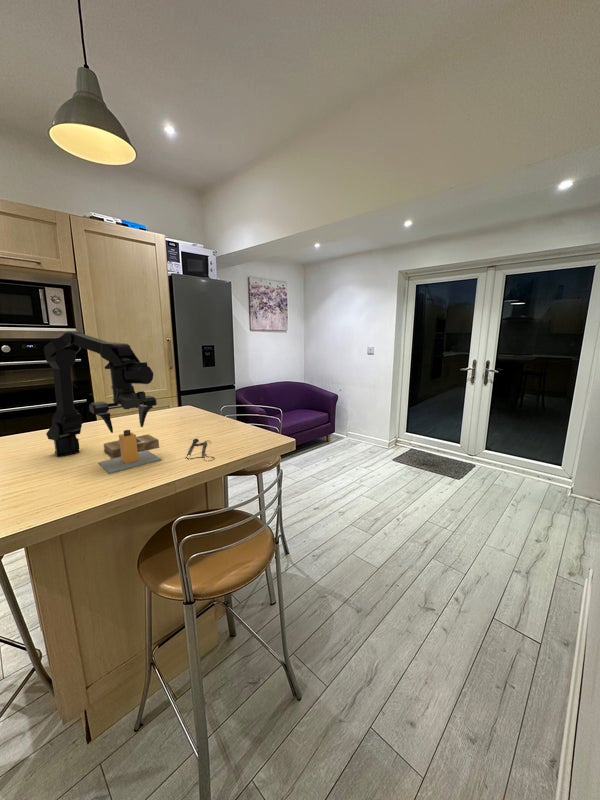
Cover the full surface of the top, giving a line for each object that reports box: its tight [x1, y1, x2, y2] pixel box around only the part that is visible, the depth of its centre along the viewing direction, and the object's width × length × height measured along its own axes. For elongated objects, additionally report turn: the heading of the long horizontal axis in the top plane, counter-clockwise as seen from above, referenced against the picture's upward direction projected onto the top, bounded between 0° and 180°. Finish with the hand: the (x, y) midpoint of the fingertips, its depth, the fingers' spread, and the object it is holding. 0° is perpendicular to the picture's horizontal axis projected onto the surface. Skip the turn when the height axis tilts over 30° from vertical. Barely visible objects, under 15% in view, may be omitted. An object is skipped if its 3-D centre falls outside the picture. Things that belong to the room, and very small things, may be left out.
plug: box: [118, 429, 139, 464], centre depth 108 cm, size 4×4×10 cm
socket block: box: [103, 434, 160, 459], centre depth 121 cm, size 16×10×3 cm, turn 136°
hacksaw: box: [186, 438, 216, 462], centre depth 120 cm, size 24×10×2 cm, turn 10°
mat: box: [97, 450, 162, 475], centre depth 109 cm, size 16×12×1 cm
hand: (127, 429), depth 107 cm, fingers open, 9 cm apart
